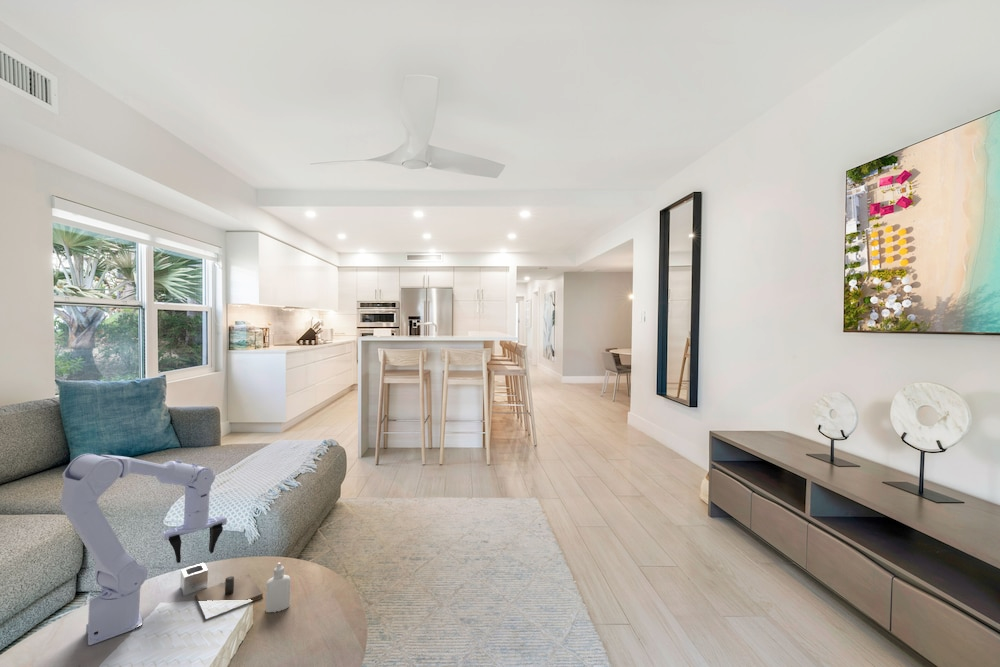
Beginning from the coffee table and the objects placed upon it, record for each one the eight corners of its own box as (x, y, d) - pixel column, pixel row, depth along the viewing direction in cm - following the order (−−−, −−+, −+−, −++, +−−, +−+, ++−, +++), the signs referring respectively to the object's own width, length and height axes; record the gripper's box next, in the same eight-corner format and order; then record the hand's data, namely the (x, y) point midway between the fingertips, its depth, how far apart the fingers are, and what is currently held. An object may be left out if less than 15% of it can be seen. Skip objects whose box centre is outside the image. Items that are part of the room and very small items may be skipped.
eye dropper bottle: (272, 602, 112) (273, 558, 112) (292, 603, 111) (293, 559, 112) (262, 613, 107) (263, 567, 107) (283, 614, 107) (285, 568, 107)
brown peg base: (205, 620, 104) (206, 599, 104) (195, 596, 113) (196, 577, 113) (262, 597, 114) (263, 578, 114) (248, 578, 123) (249, 560, 123)
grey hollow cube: (183, 595, 114) (184, 577, 114) (180, 587, 117) (181, 569, 117) (207, 587, 117) (207, 569, 118) (203, 579, 121) (203, 562, 121)
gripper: (223, 498, 126) (221, 542, 126) (162, 511, 115) (160, 560, 115) (229, 505, 121) (227, 551, 121) (166, 519, 110) (164, 570, 110)
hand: (195, 556), depth 118 cm, fingers open, 7 cm apart
